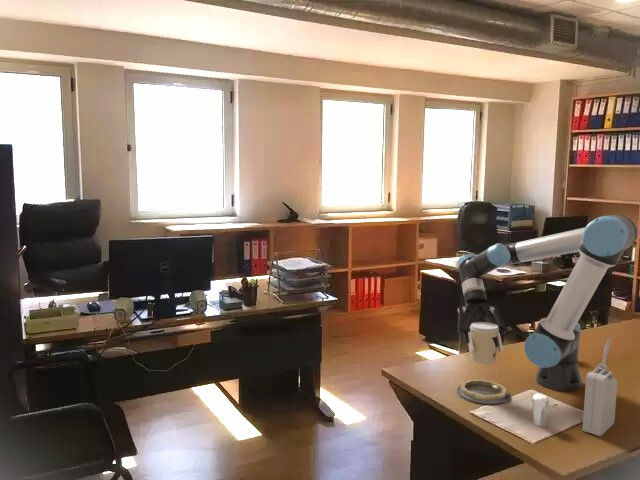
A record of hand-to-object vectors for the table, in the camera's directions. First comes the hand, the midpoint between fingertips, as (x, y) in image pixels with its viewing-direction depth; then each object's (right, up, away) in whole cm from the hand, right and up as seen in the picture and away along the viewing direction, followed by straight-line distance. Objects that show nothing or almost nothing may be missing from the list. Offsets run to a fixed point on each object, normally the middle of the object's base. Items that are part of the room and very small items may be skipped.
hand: (486, 351), depth 180 cm
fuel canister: (+28, -19, -18) cm, 38 cm away
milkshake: (+10, -18, -17) cm, 27 cm away
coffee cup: (0, -4, +4) cm, 5 cm away
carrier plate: (0, -15, +5) cm, 16 cm away
